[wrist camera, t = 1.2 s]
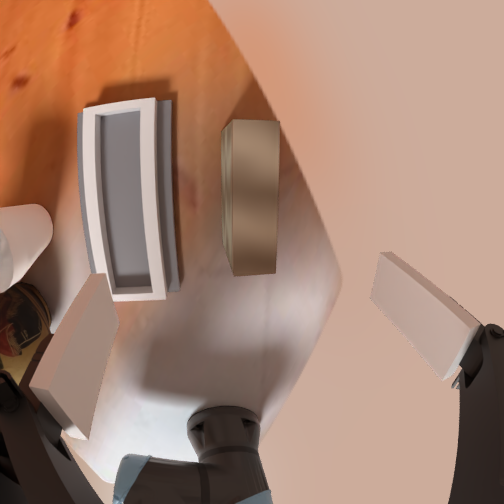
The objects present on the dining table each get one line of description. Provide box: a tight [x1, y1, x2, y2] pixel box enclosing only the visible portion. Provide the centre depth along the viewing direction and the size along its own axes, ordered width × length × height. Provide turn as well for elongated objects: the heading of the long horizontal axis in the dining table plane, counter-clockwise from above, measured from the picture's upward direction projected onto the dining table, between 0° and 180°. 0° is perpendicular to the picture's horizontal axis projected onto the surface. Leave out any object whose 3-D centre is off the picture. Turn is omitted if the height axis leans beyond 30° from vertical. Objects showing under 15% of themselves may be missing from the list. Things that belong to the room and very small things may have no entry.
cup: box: [0, 204, 53, 293], centre depth 24 cm, size 9×9×12 cm
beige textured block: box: [221, 119, 280, 276], centre depth 28 cm, size 14×4×11 cm, turn 179°
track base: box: [77, 98, 180, 302], centre depth 30 cm, size 24×12×4 cm, turn 0°
